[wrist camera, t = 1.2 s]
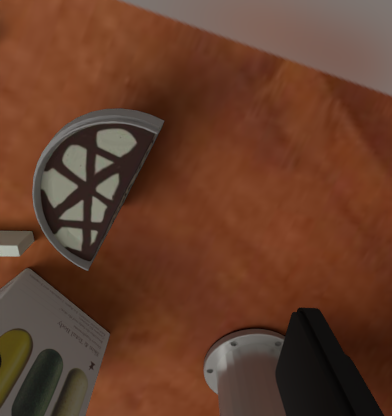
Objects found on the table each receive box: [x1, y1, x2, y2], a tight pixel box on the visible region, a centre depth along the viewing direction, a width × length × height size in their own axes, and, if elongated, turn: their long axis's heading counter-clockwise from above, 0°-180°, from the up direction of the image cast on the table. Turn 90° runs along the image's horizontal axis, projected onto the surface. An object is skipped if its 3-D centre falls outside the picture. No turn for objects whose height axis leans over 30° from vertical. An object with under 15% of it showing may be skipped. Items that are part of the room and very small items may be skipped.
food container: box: [32, 109, 164, 271], centre depth 24 cm, size 12×6×10 cm, turn 150°
